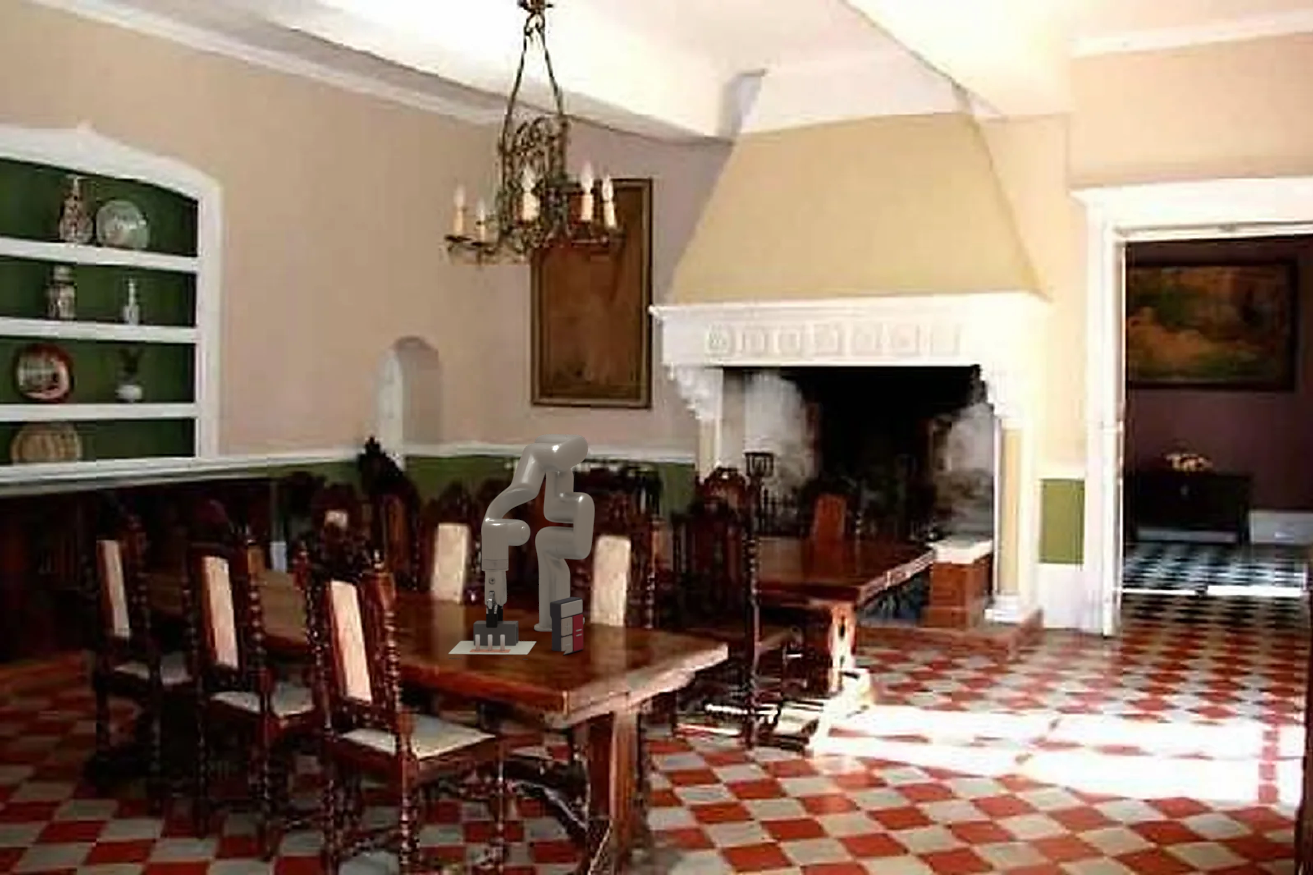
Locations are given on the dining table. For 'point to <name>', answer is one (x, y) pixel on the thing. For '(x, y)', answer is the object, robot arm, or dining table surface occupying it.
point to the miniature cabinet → (567, 625)
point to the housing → (497, 633)
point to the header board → (491, 647)
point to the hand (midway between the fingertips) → (494, 624)
